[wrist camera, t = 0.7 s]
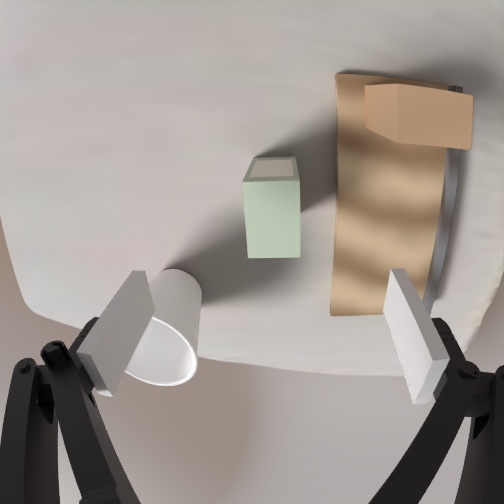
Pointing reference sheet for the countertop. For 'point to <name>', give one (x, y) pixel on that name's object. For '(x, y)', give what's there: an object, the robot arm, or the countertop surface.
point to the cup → (170, 331)
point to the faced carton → (419, 115)
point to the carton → (272, 208)
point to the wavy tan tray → (387, 205)
